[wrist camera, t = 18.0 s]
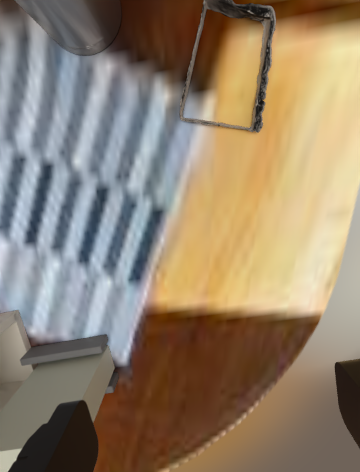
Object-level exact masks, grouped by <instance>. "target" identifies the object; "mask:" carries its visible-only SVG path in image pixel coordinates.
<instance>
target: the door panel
mask: <svg viewBox="0 0 360 472" xmlns="http://www.w3.org/2000/svg"><path fill="white" fill-rule="evenodd" d="M114 369H115V367H114V363H113V360H112V356H111V353H110V349H109V346H108V345H106V346H105V348H104V350H103V352H102V353H97V354H91V355H85V356H79V357H73V358H67V359H61V360H55V361H49V362H42V363H39V364H38V365H37V367H36V368H35V369H34V370H33V372H32V373H31V374H30V375H29V377H28V378H27V379H26V380H25V382H24V383H23V384H22V385H21V387H20V388H19V389H18V390H17V392H16V393H15V394H14V395H13V397H12V398H11V399H10V400H9V402H8V403H7V404H6V405H5V407H4V408H3V409H2V410H1V412H0V472H8V471H9V469H10V467H11V466H12V464H13V463H14V461H16V460H17V456H18V454H19V453H20V451H21V450H22V448H23V446H24V445H25V443H26V441H27V440H28V439H29V438H30V437H31V436H32V435H33V434H34V433H35V431H36V430H37V429H38V428H39V427H40V426H41V425H42V424H46V423H48V421H49V419H50V418H51V416H52V414H53V412H54V411H55V409H56V407H57V406H58V405H59V404H60V403H65V402H71V401H78V400H84V401H85V402H86V403H87V406H88V409H89V412H90V415H91V418H92V422H94V420H95V417H96V414H97V412H98V409H99V407H100V404H101V402H102V399H103V397H104V394H105V392H106V389H107V386H108V384H109V381H110V379H111V376H112V374H113V371H114Z"/></svg>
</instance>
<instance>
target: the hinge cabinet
mask: <svg viewBox="0 0 360 472" xmlns="http://www.w3.org/2000/svg"><path fill="white" fill-rule="evenodd" d="M107 342H108V338H107V335H101V336H95V337H89V338H83V339H77V340H71V341H65V342H59V343H53V344H47V345H42V346H36V347H31V345H30V342H29V339H28V337H27V334H26V331H25V328H24V325H23V322H22V319H21V316H20V314H19V311H18V310H16V311H11V312H5V313H0V412H1V410H2V409H3V408H4V407H5V405H6V404H7V403H8V402H9V400H10V399H11V398H12V397H13V395H14V394H15V393H16V392H17V390H18V389H19V388H20V387H21V385H22V384H23V383H24V382H25V380H26V379H27V378H28V377H29V375H30V374H31V373H32V372H33V370H34V369H35V368H36V367H37V363H42V362H49V361H55V360H61V359H67V358H73V357H79V356H85V355H91V354H97V353H102V352H103V350H104V348H105V346H106V344H107ZM118 378H119V377H118V373H117V372H114V373H113V374H112V376H111V379H110V381H109V384H108V386H107V389H106V392H105V393H112V392H114V390H115V387H116V384H117V381H118Z"/></svg>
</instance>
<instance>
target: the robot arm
mask: <svg viewBox="0 0 360 472" xmlns="http://www.w3.org/2000/svg"><path fill="white" fill-rule="evenodd" d="M15 1H16V2H17V3H18V4H19V5H20V6H21V7H22V8H23V9H24V10H25V11H26V12H27V13H28V14H29V15H30V16H31V17H32V18H33V19H34V20H35V21H36V22H37V23H38V24H39V25H40V26H41V27H42V28H43V29H44V30H45V31H46V32H47V33H48V34H49V35H50V36H51V37H52V38H53V39H54V40H55V41H56V42H57V43H58V44H59V45H60V46H61V47H62V48H64V49H66V50H67V51H69V52H71V53H74V54H77V55H93V54H96V53H98V52H101V51H102V50H104V49H105V48H107V47H108V46H109V45H110V43H111V42H112V41H113V40H114V38H115V36H116V35H117V33H118V30H119V27H120V23H121V4H120V0H15ZM335 375H336V385H337V394H338V403H339V409H340V412H341V415H342V418H343V420H344V423H345V425H346V427H347V429H348V430H349V432H350V433H351V435H352V437H353V438H354V440H355V442H356V443H357V444H358V446H359V448H360V359H356V360H349V361H342V362H336V363H335ZM97 457H98V438H97V434H96V431H95V428H94V425H93V422H92V418H91V415H90V412H89V409H88V406H87V403H86V402H85V401H84V400H78V401H71V402H65V403H60V404H59V405H58V406H57V407H56V409H55V411H54V412H53V414H52V416H51V418H50V419H49V421H48V423H46V424H42V425H41V426H40V427H39V428H38V429H37V430H36V431H35V433H34V434H33V435H32V436H31V437H30V438H29V439H28V440H27V441H26V443H25V445H24V446H23V448H22V450H21V451H20V453H19V454H18V456H17V460H16V461H14V463H13V464H12V466H11V467H10V469H9V471H8V472H93V470H94V467H95V464H96V461H97Z"/></svg>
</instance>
